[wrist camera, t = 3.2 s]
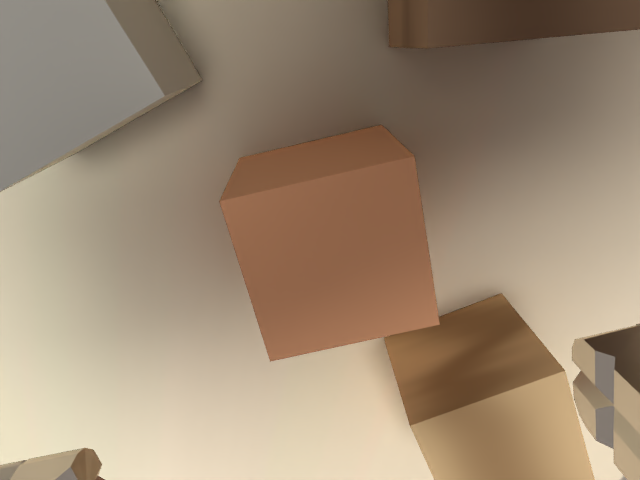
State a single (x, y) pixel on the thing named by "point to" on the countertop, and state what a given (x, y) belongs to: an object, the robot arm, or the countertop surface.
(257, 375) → the countertop surface
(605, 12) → the walnut cube
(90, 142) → the grey cube
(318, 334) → the terracotta cube
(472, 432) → the oak cube
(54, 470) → the robot arm
